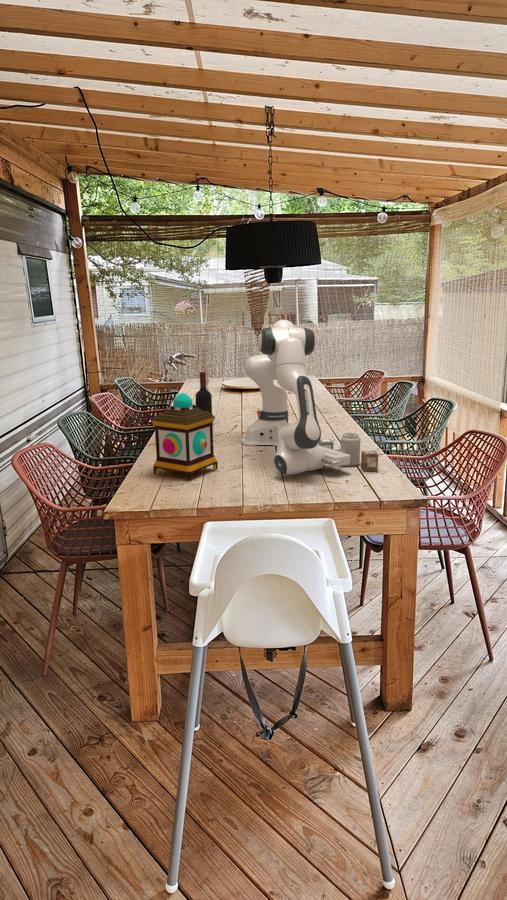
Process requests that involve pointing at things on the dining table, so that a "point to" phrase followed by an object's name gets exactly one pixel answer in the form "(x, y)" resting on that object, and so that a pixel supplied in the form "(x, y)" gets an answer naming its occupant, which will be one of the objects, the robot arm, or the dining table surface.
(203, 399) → the wine bottle
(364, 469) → the walnut block
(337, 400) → the dining table surface
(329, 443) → the slate block
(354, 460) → the can
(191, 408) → the decorative lantern
